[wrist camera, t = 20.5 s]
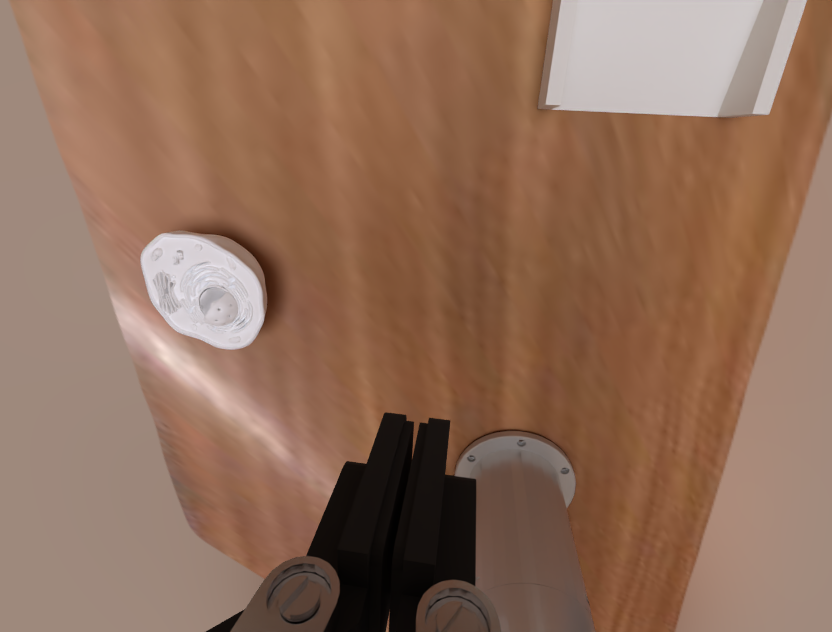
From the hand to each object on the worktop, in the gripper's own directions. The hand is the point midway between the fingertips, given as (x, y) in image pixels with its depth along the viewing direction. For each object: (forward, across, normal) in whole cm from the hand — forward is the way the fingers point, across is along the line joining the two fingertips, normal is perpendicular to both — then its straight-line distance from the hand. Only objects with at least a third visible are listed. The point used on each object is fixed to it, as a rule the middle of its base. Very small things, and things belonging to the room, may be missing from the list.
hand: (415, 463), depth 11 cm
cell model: (+29, +22, +6) cm, 37 cm away
